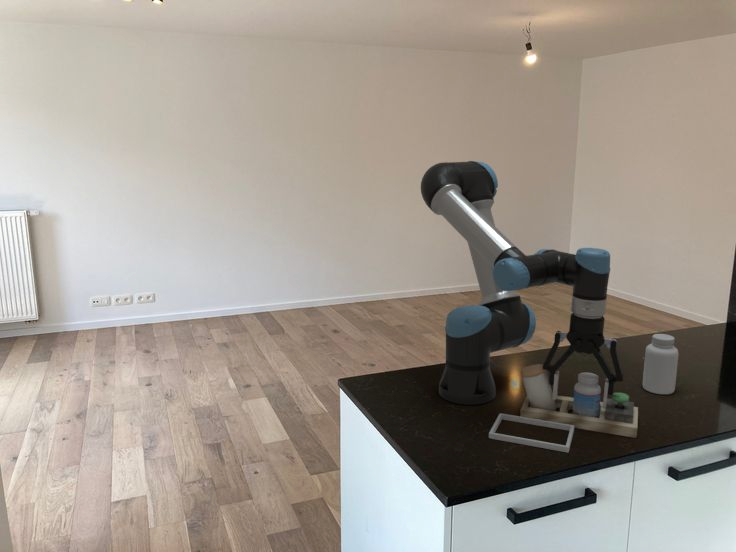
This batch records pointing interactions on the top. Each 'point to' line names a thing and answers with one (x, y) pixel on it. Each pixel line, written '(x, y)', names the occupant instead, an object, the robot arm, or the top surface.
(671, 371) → the pill bottle
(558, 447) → the white rectangular frame
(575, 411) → the pill bottle
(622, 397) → the button
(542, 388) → the white canister
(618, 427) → the wooden divided rack
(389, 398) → the top surface
